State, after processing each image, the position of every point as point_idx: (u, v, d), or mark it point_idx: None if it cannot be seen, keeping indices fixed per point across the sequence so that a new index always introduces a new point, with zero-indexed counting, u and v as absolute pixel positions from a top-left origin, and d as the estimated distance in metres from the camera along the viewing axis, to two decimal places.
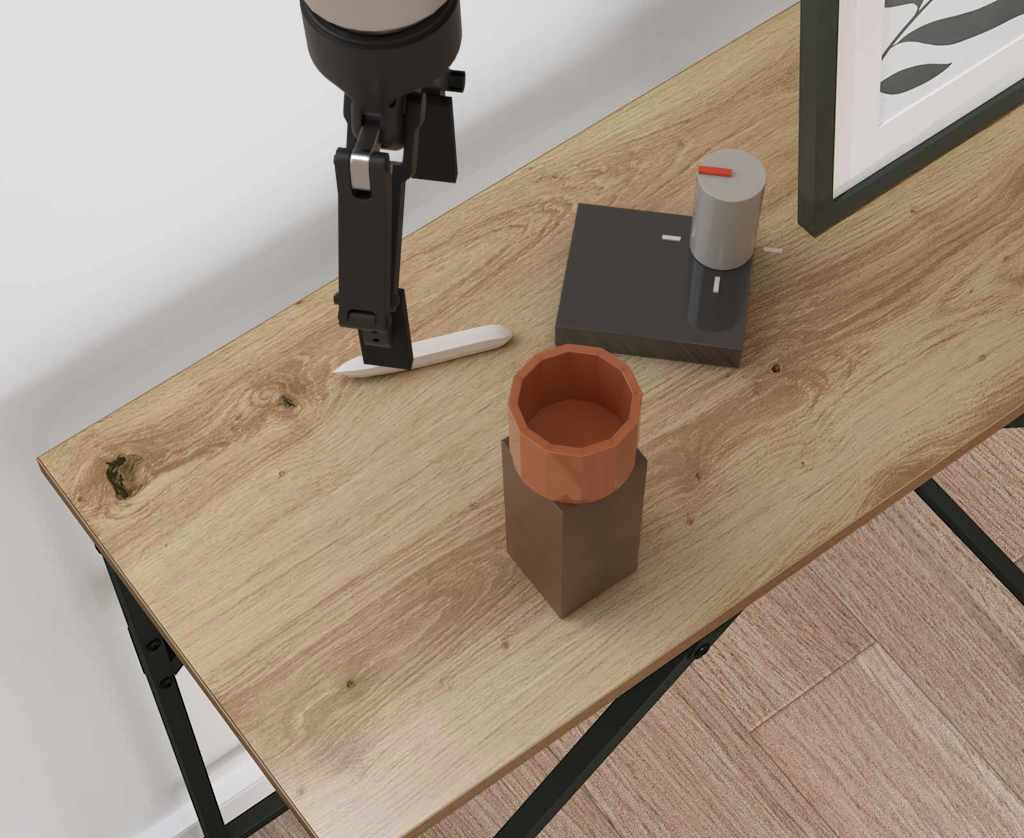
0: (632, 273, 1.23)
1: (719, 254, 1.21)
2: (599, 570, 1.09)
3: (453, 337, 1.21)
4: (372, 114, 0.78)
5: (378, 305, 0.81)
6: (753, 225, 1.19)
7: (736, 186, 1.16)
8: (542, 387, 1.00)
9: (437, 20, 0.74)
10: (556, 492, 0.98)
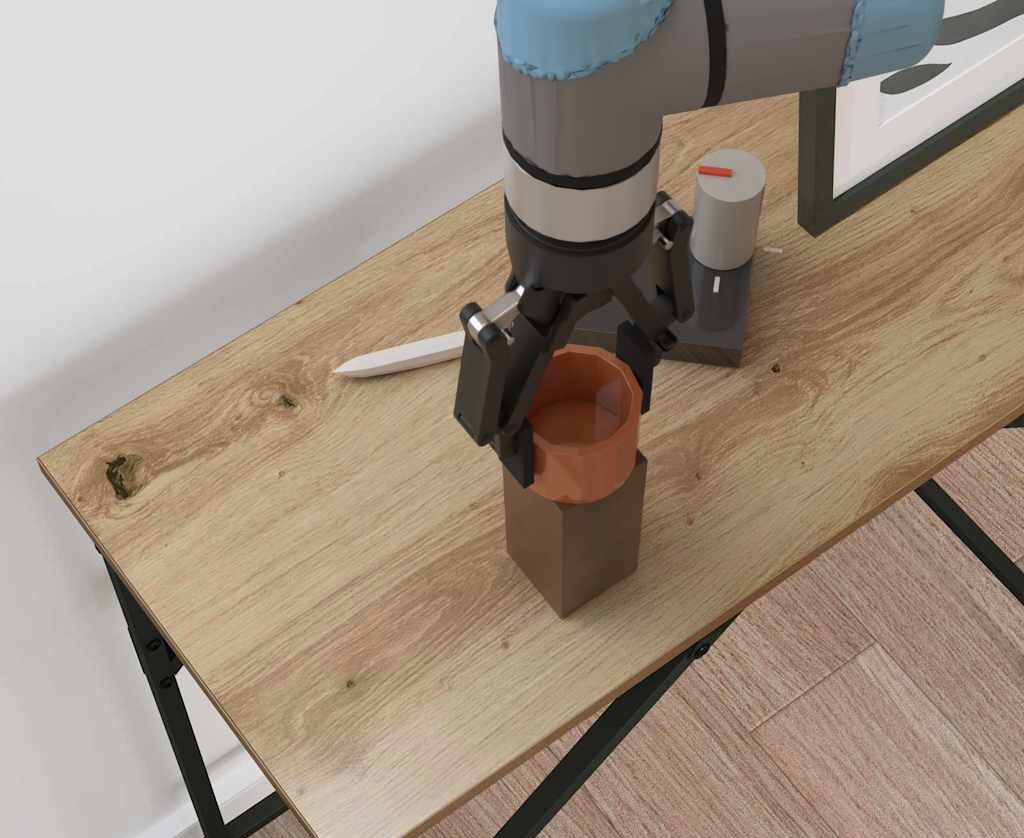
0: None
1: (719, 254, 1.21)
2: (599, 570, 1.09)
3: (453, 337, 1.21)
4: (520, 285, 0.82)
5: (476, 426, 0.89)
6: (753, 225, 1.19)
7: (736, 186, 1.16)
8: (542, 387, 1.00)
9: (591, 250, 0.78)
10: (556, 492, 0.98)
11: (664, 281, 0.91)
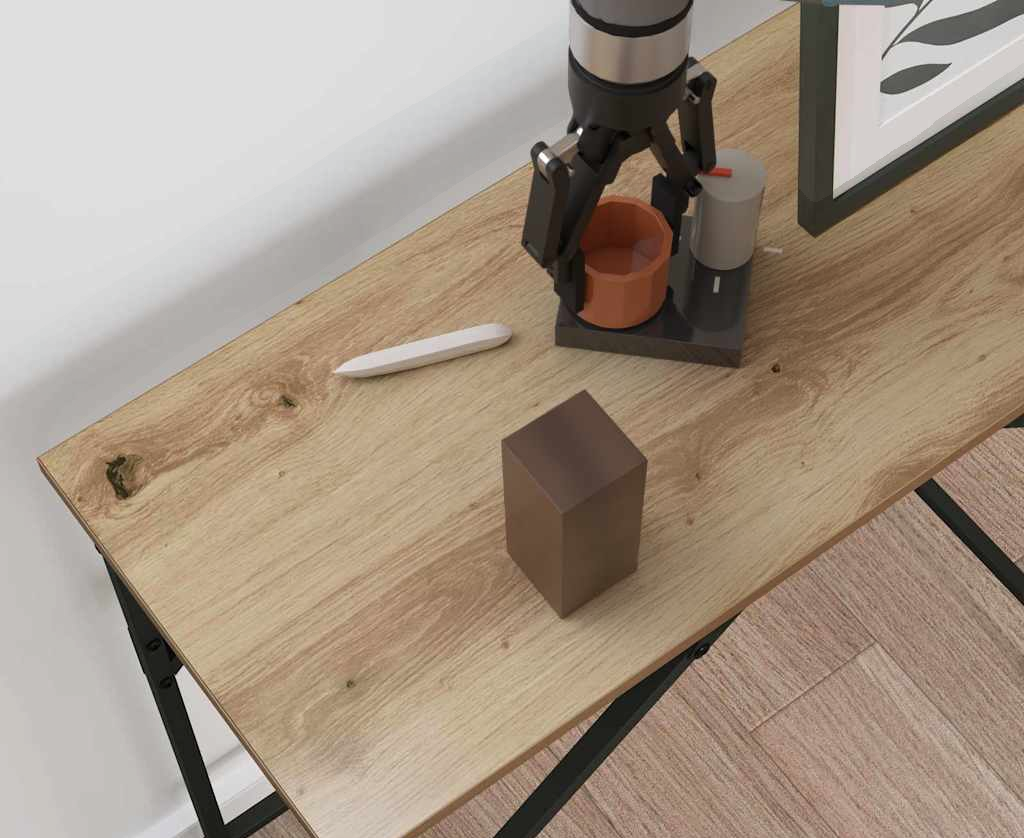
0: None
1: (719, 254, 1.21)
2: (599, 570, 1.09)
3: (453, 336, 1.21)
4: (580, 126, 1.03)
5: (540, 250, 1.10)
6: (753, 225, 1.19)
7: (736, 186, 1.16)
8: (589, 233, 1.21)
9: (638, 91, 0.99)
10: (601, 317, 1.19)
11: (692, 135, 1.12)
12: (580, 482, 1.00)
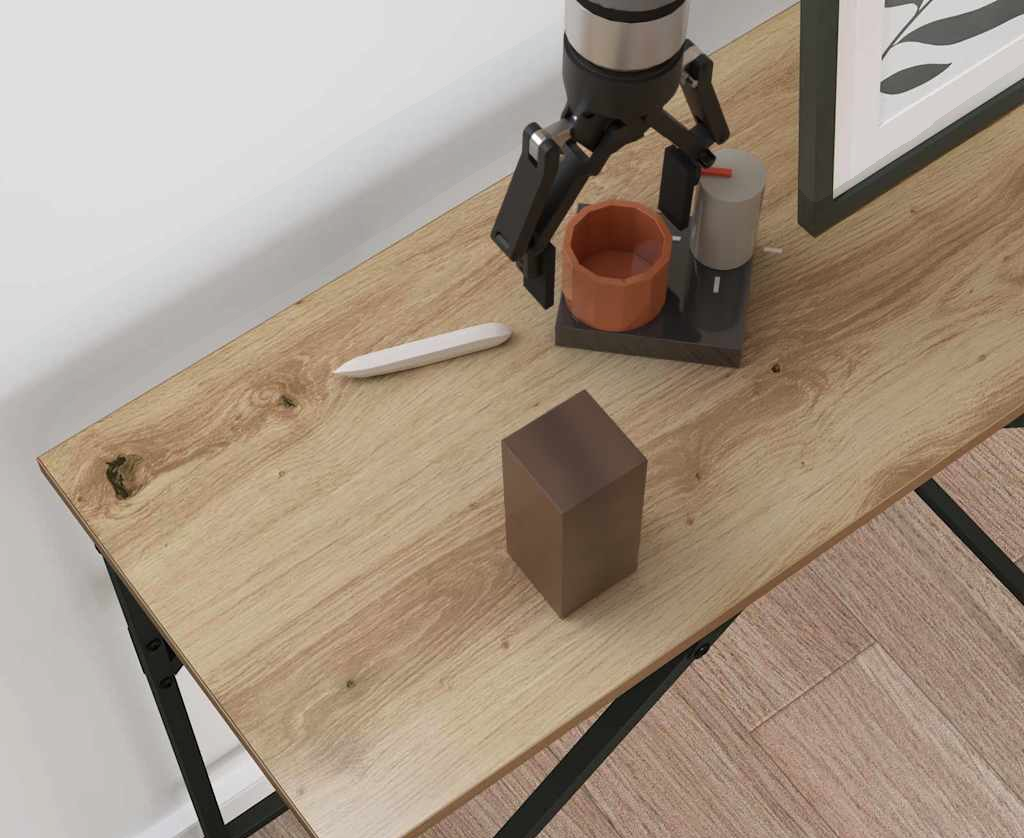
0: None
1: (719, 254, 1.21)
2: (599, 570, 1.09)
3: (452, 336, 1.21)
4: (574, 114, 1.02)
5: (513, 240, 1.07)
6: (753, 225, 1.19)
7: (736, 186, 1.16)
8: (589, 237, 1.21)
9: (634, 78, 0.98)
10: (601, 321, 1.19)
11: (699, 112, 1.11)
12: (580, 482, 1.00)
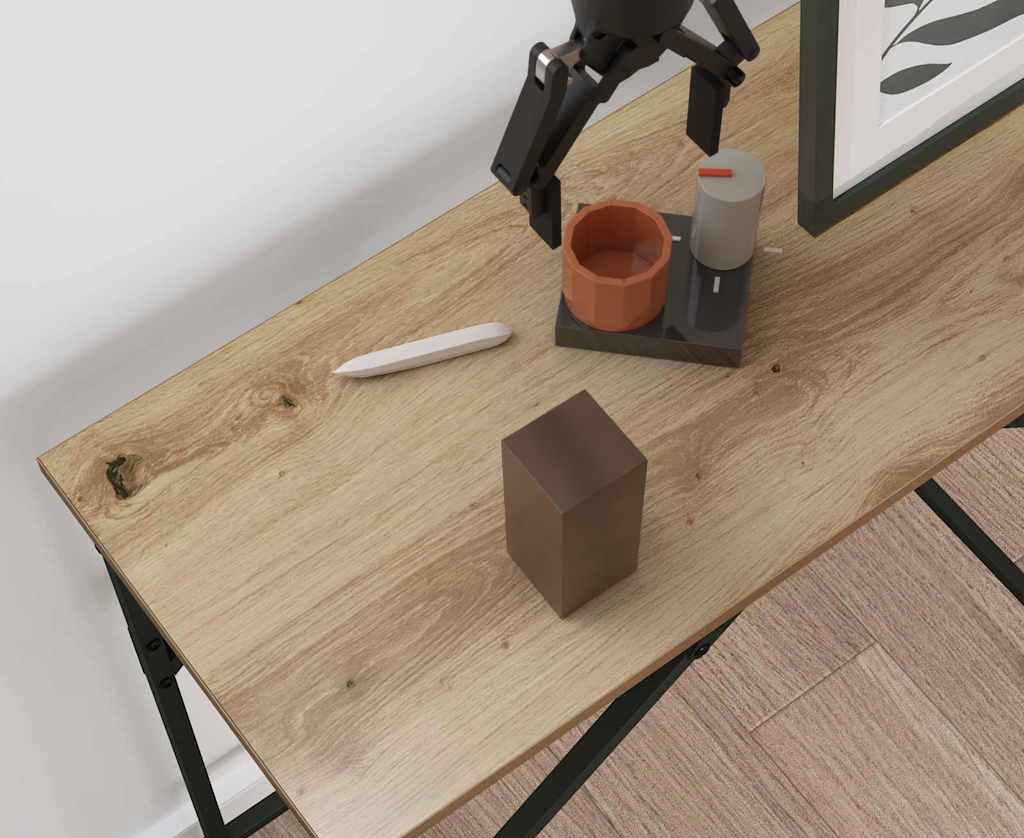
0: None
1: (722, 254, 1.21)
2: (599, 570, 1.09)
3: (452, 336, 1.21)
4: (583, 35, 0.97)
5: (515, 171, 1.01)
6: (755, 223, 1.19)
7: (738, 186, 1.16)
8: (589, 237, 1.21)
9: None
10: (601, 321, 1.19)
11: (723, 29, 1.05)
12: (580, 482, 1.00)
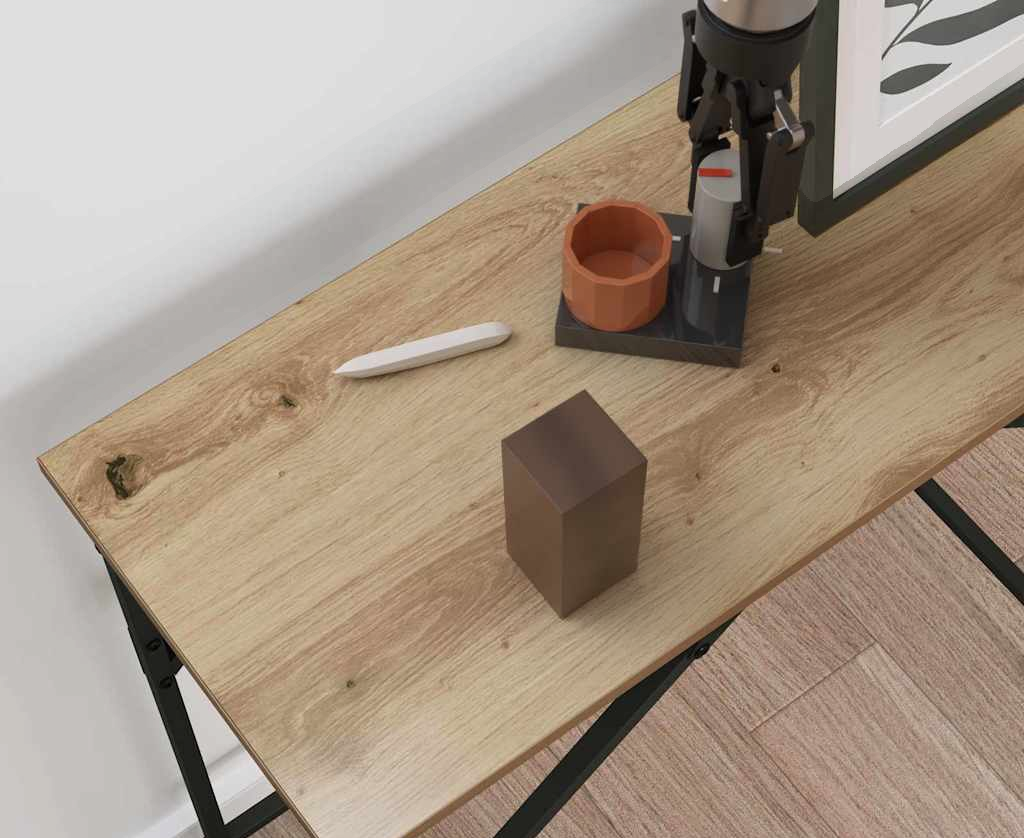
0: None
1: (722, 254, 1.21)
2: (599, 570, 1.09)
3: (452, 335, 1.21)
4: (779, 88, 1.05)
5: (791, 205, 1.12)
6: None
7: (737, 186, 1.16)
8: (589, 237, 1.21)
9: None
10: (601, 321, 1.19)
11: None
12: (580, 482, 1.00)
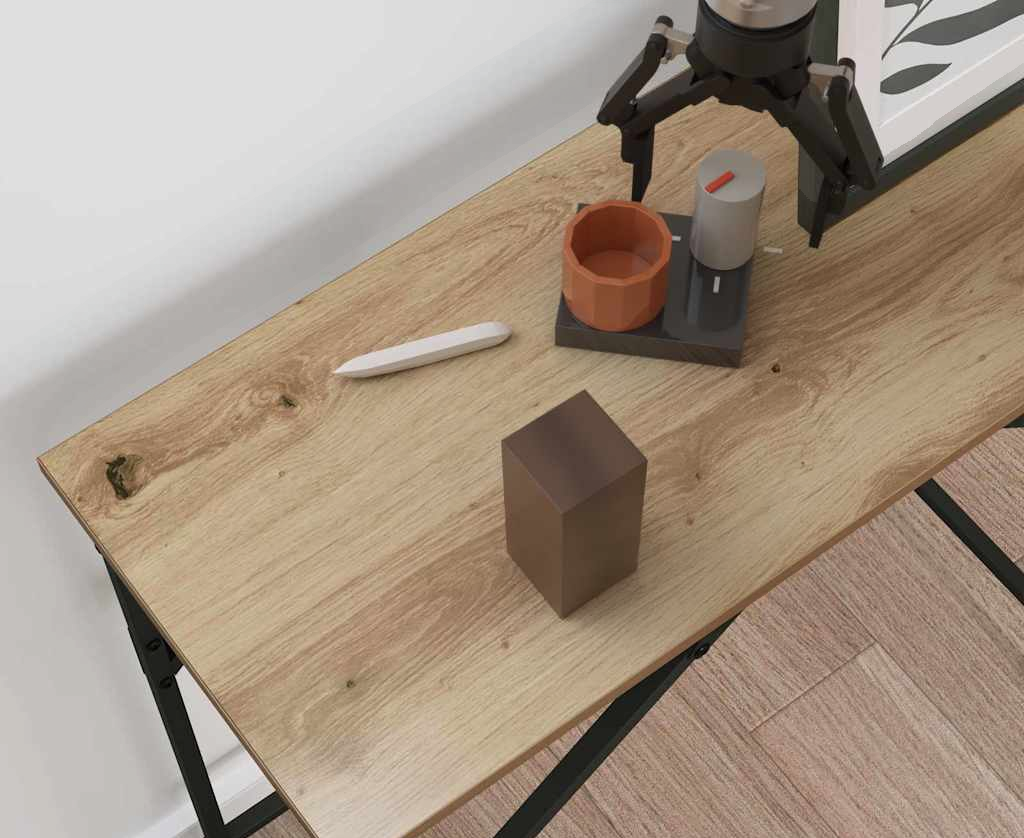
0: None
1: (745, 249, 1.21)
2: (599, 570, 1.09)
3: (452, 335, 1.21)
4: (806, 61, 1.05)
5: (878, 150, 1.11)
6: None
7: (746, 180, 1.17)
8: (589, 237, 1.21)
9: None
10: (601, 321, 1.19)
11: None
12: (580, 482, 1.00)
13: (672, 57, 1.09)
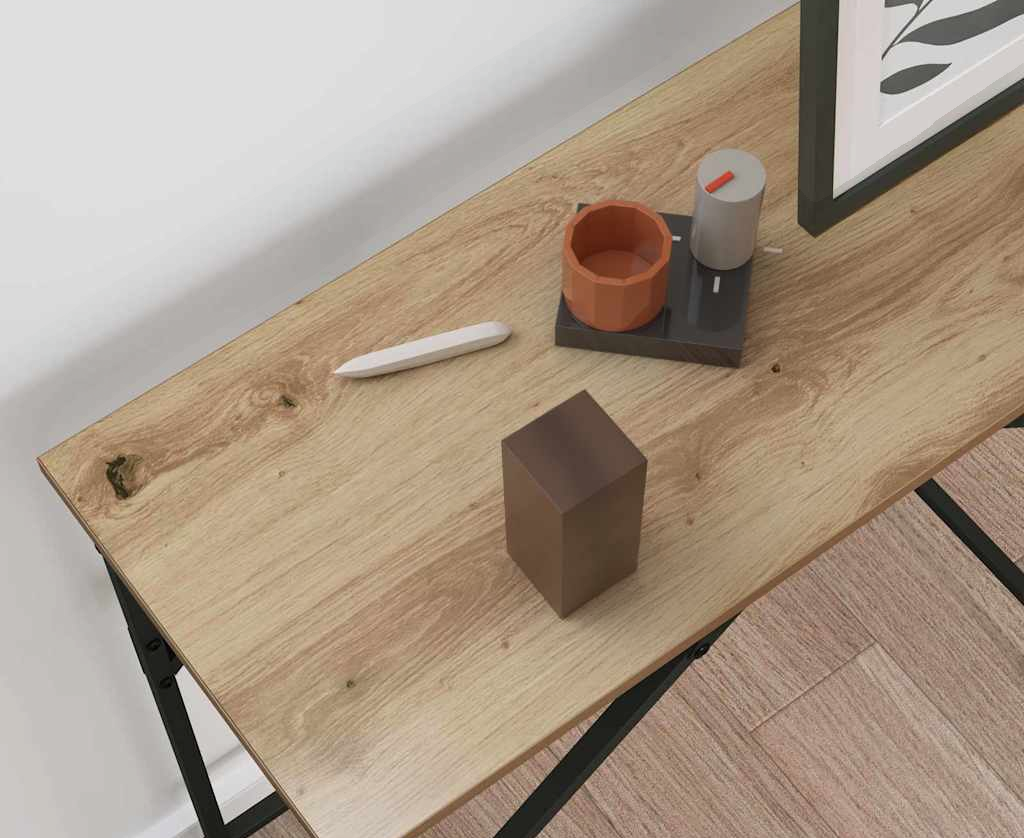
0: None
1: (745, 249, 1.21)
2: (599, 570, 1.09)
3: (452, 335, 1.21)
4: None
5: None
6: None
7: (746, 180, 1.17)
8: (589, 237, 1.21)
9: None
10: (601, 321, 1.19)
11: None
12: (580, 482, 1.00)
13: None
